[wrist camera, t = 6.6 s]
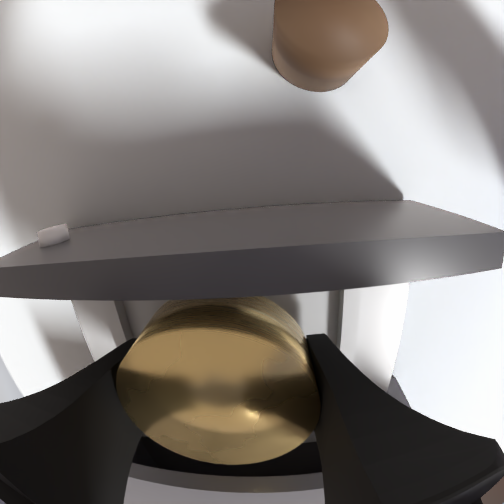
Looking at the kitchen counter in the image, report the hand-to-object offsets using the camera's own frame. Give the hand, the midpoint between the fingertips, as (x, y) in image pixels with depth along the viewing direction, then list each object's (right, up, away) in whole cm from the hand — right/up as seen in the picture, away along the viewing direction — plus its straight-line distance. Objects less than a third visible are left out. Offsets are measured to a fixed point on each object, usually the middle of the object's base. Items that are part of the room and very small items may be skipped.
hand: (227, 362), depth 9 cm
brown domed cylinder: (+3, +11, -1) cm, 12 cm away
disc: (0, 0, 0) cm, 0 cm away
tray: (0, 0, +3) cm, 3 cm away
